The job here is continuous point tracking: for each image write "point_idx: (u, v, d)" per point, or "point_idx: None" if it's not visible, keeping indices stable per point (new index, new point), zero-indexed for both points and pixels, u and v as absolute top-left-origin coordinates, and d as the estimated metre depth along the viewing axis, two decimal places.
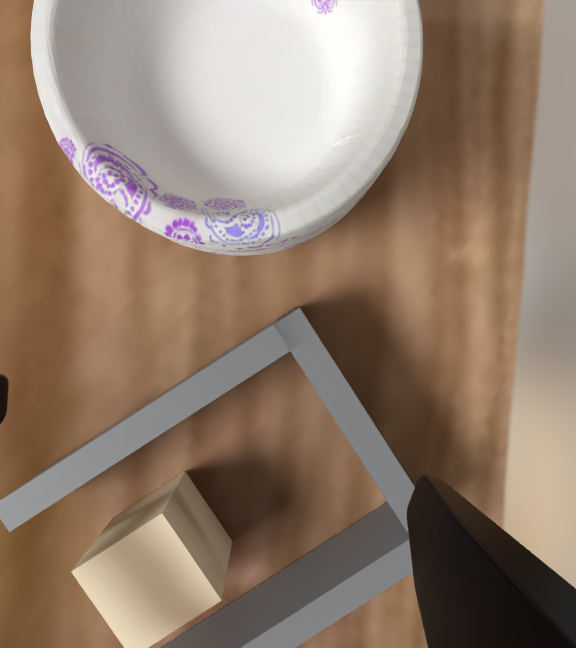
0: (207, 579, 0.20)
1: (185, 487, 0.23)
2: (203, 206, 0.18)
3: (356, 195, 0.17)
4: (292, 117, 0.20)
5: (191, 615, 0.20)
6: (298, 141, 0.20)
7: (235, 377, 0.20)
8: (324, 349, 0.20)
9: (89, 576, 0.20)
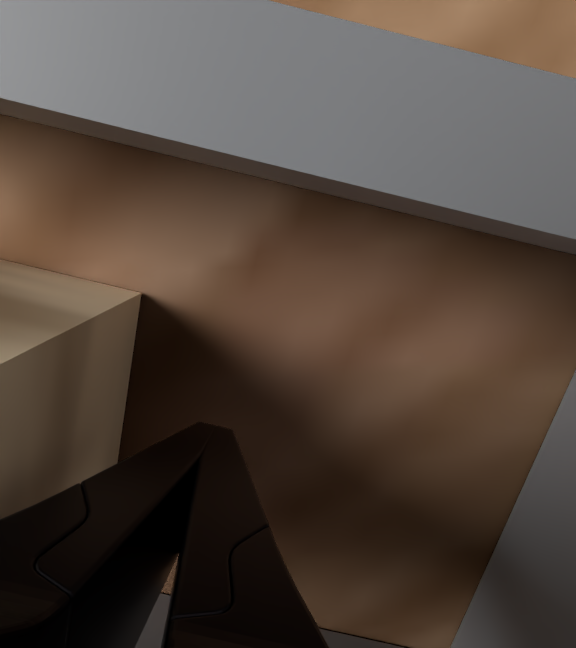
0: None
1: (112, 331, 0.08)
2: None
3: None
4: None
5: None
6: None
7: None
8: None
9: None
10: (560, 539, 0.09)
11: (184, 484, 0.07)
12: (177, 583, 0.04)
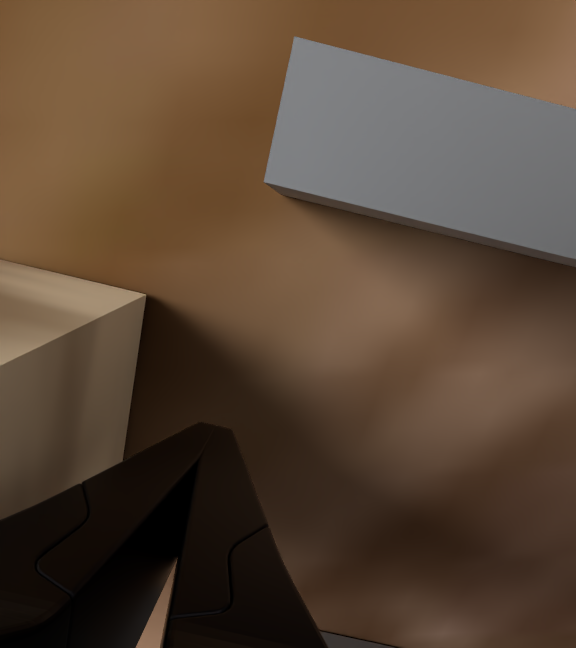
0: None
1: (117, 332, 0.08)
2: None
3: None
4: None
5: None
6: None
7: None
8: None
9: None
10: None
11: (185, 484, 0.07)
12: (176, 583, 0.04)
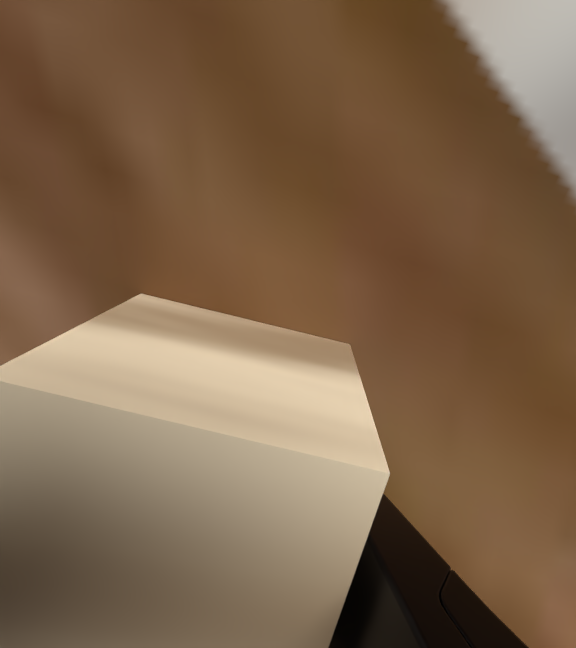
0: None
1: None
2: None
3: None
4: None
5: None
6: None
7: None
8: None
9: (325, 498, 0.05)
10: None
11: None
12: (420, 639, 0.04)
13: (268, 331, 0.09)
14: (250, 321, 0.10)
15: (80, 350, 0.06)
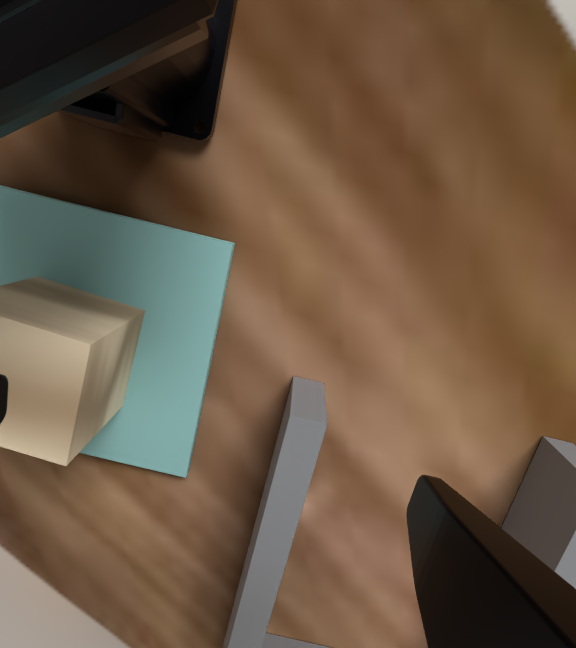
0: None
1: None
2: None
3: None
4: None
5: None
6: None
7: None
8: None
9: (69, 353, 0.14)
10: None
11: None
12: None
13: (98, 300, 0.19)
14: (93, 294, 0.19)
15: None
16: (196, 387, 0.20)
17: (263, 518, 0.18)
